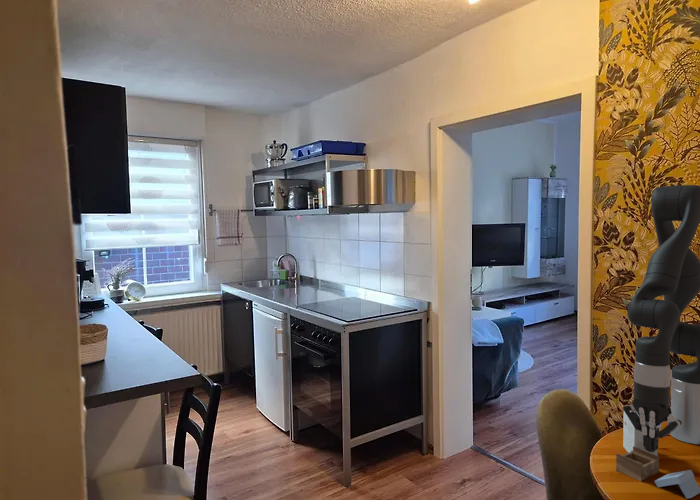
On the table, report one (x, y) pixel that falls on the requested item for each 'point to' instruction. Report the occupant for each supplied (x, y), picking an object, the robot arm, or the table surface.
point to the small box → (632, 436)
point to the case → (638, 464)
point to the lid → (681, 482)
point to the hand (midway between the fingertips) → (650, 450)
